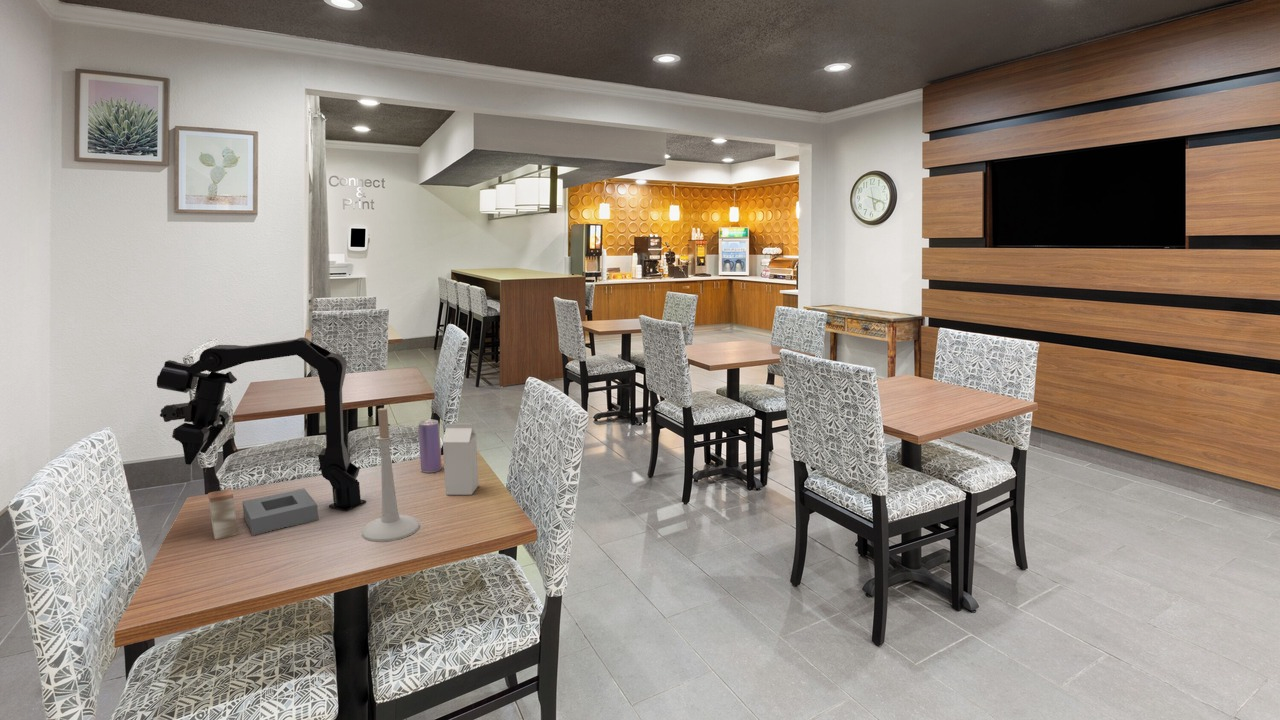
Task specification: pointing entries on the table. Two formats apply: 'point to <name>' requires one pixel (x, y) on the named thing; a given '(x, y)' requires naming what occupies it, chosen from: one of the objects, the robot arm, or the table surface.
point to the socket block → (279, 511)
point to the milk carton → (460, 459)
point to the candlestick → (388, 496)
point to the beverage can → (429, 446)
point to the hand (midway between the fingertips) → (195, 458)
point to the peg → (222, 513)
